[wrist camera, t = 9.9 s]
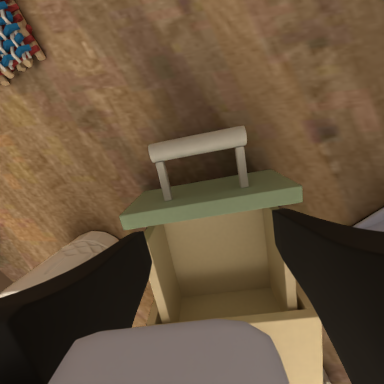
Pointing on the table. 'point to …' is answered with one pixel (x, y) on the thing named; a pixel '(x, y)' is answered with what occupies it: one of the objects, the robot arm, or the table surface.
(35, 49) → the woven mat
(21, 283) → the white cup
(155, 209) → the drawer
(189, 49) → the table surface
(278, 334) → the shallow tan box
